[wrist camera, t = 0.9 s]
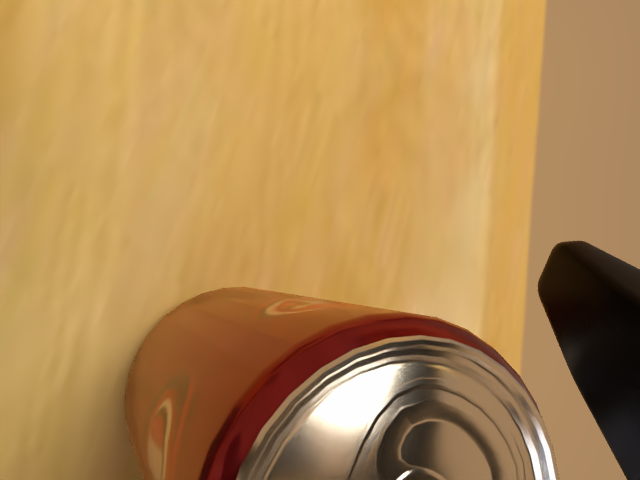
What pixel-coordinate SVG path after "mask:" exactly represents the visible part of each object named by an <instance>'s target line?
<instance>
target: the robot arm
mask: <svg viewBox="0 0 640 480" xmlns="http://www.w3.org/2000/svg"><path fill="white" fill-rule="evenodd" d="M538 293H539V297H540V300H541V302H542V304H543V307H544V309H545V312H546V314H547V317H548V319H549V321H550V324H551V326H552V329H553V331H554V334H555V336H556V339H557V341H558V343H559V346H560V348H561V351H562V353H563V356H564V358H565V360H566V363H567V365H568V367H569V369H570V372H571V374H572V376H573V379H574V381H575V383H576V385H577V386H578V389H579V391H580V392H581V394H582V396H583V398H584V400H585V402H586V404H587V406H588V407H589V409H590V411H591V413H592V415H593V417H594V419H595V420H596V422H597V424H598V426H599V428H600V430H601V432H602V434H603V435H604V437H605V439H606V441H607V443H608V445H609V447H610V448H611V450H612V452H613V454H614V456H615V458H616V460H617V461H618V463H619V465H620V467H621V469H622V471H623V473H624V475H625V476H626V478H627V480H640V269H638V268H636V267H634V266H632V265H630V264H627V263H626V262H624V261H622V260H620V259H618V258H616V257H614V256H612V255H610V254H608V253H606V252H604V251H602V250H600V249H598V248H596V247H594V246H592V245H590V244H589V243H586V242H583V241H569V242H561V243H558V244H557V245H556V246H555V247H554V248H553V249H552V251H551V254H550V256H549V258H548V260H547V263H546V265H545V267H544V270H543V272H542V274H541V276H540V279H539V282H538Z"/></svg>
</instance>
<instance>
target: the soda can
mask: <svg viewBox="0 0 640 480" xmlns="http://www.w3.org/2000/svg"><path fill="white" fill-rule="evenodd" d="M125 420H126V424H127V428H128V432H129V436H130V441H131V444H132V446H133V449H134V452H135V455H136V458H137V460H138V463H139V466H140V469H141V472H142V474H143V477H144V480H559V474H558V469H557V464H556V459H555V454H554V449H553V445H552V443H551V440H550V437H549V435H548V432H547V430H546V427H545V425H544V422H543V419H542V416H541V414H540V412H539V409H538V407H537V404H536V402H535V400H534V399H533V397H532V396H531V394H530V392H529V391H528V389H527V387H526V386H525V384H524V382H523V381H522V379H521V377H520V376H519V375H518V374H517V372H516V371H515V370H514V369H513V368H512V367H511V366H510V365H509V364H508V363H507V362H506V361H505V360H504V358H503V357H502V356H501V355H500V354H499V353H498V352H497V351H496V350H495V349H494V348H493V347H491V346H490V345H489V344H487V343H486V342H484V341H483V340H481V339H480V338H478V337H477V336H476V335H474V334H473V333H471V332H470V331H468V330H467V329H465V328H462V327H460V326H457V325H455V324H452V323H450V322H447V321H445V320H442V319H439V318H437V317H431V316H425V315H418V314H412V313H406V312H400V311H393V310H387V309H381V308H374V307H368V306H362V305H356V304H349V303H343V302H337V301H330V300H324V299H318V298H311V297H305V296H299V295H293V294H286V293H280V292H274V291H267V290H261V289H254V288H248V287H234V288H222V289H218V290H214V291H210V292H206V293H203V294H201V295H199V296H197V297H194V298H192V299H190V300H188V301H186V302H184V303H182V304H181V305H180V306H178V307H177V308H176V309H174V310H173V311H172V312H170V313H169V314H167V315H166V316H165V317H164V318H163V319H162V320H161V321H160V322H159V323H158V324H157V326H156V327H155V328H154V329H153V330H152V331H151V332H150V333H149V335H148V336H147V338H146V340H145V341H144V343H143V344H142V346H141V348H140V349H139V351H138V352H137V355H136V357H135V360H134V363H133V365H132V368H131V370H130V373H129V377H128V382H127V388H126V394H125Z"/></svg>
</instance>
